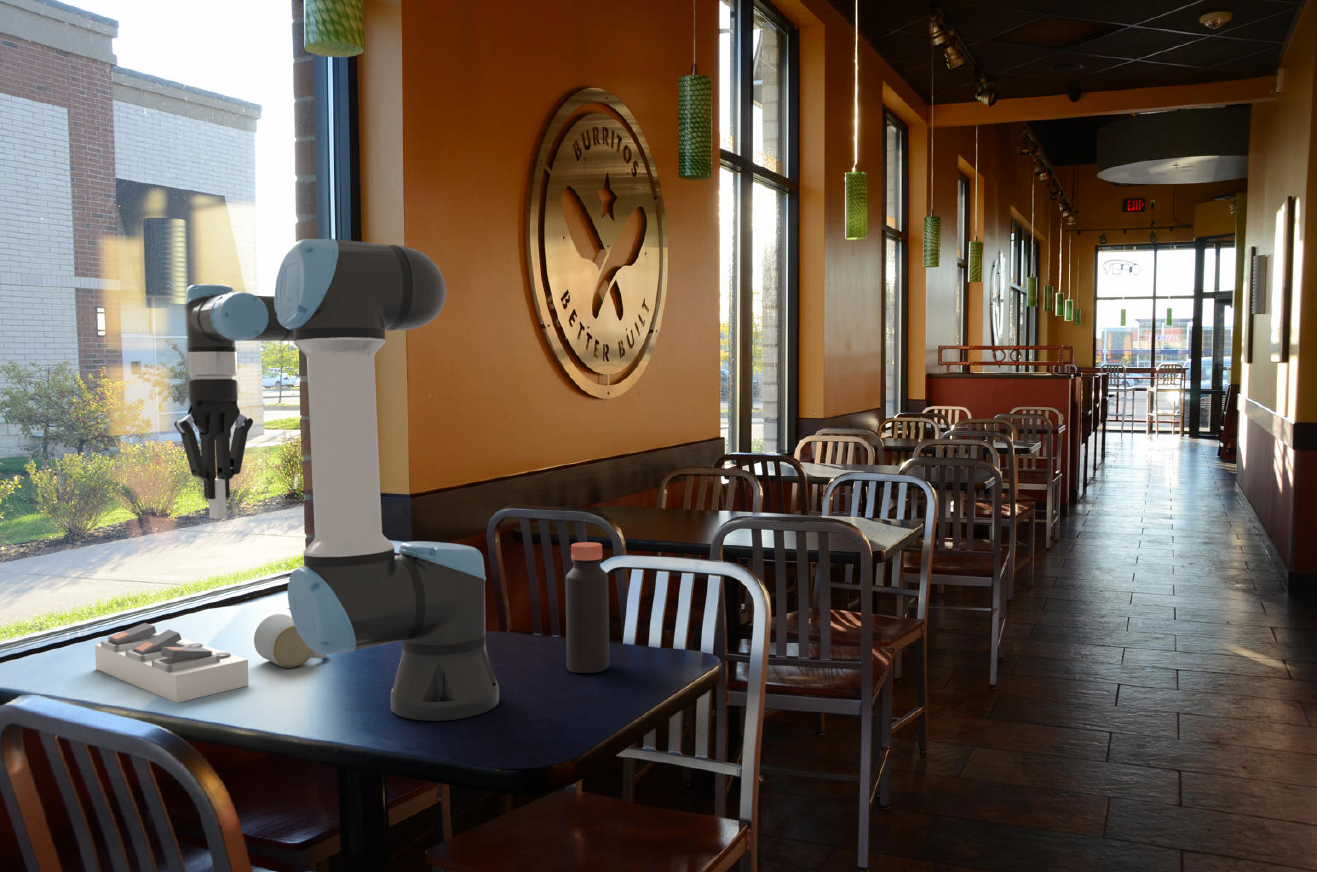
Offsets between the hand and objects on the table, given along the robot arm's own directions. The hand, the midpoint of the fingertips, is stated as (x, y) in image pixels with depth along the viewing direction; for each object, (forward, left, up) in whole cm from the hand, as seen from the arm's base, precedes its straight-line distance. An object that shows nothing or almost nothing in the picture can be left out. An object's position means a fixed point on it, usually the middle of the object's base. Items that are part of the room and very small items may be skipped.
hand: (217, 517), depth 178 cm
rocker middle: (-7, +14, -18) cm, 24 cm away
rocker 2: (-16, +14, -18) cm, 28 cm away
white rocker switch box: (-7, +12, -23) cm, 27 cm away
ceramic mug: (-14, -5, -24) cm, 28 cm away
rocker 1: (+2, +14, -18) cm, 23 cm away
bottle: (-55, -32, -23) cm, 68 cm away
